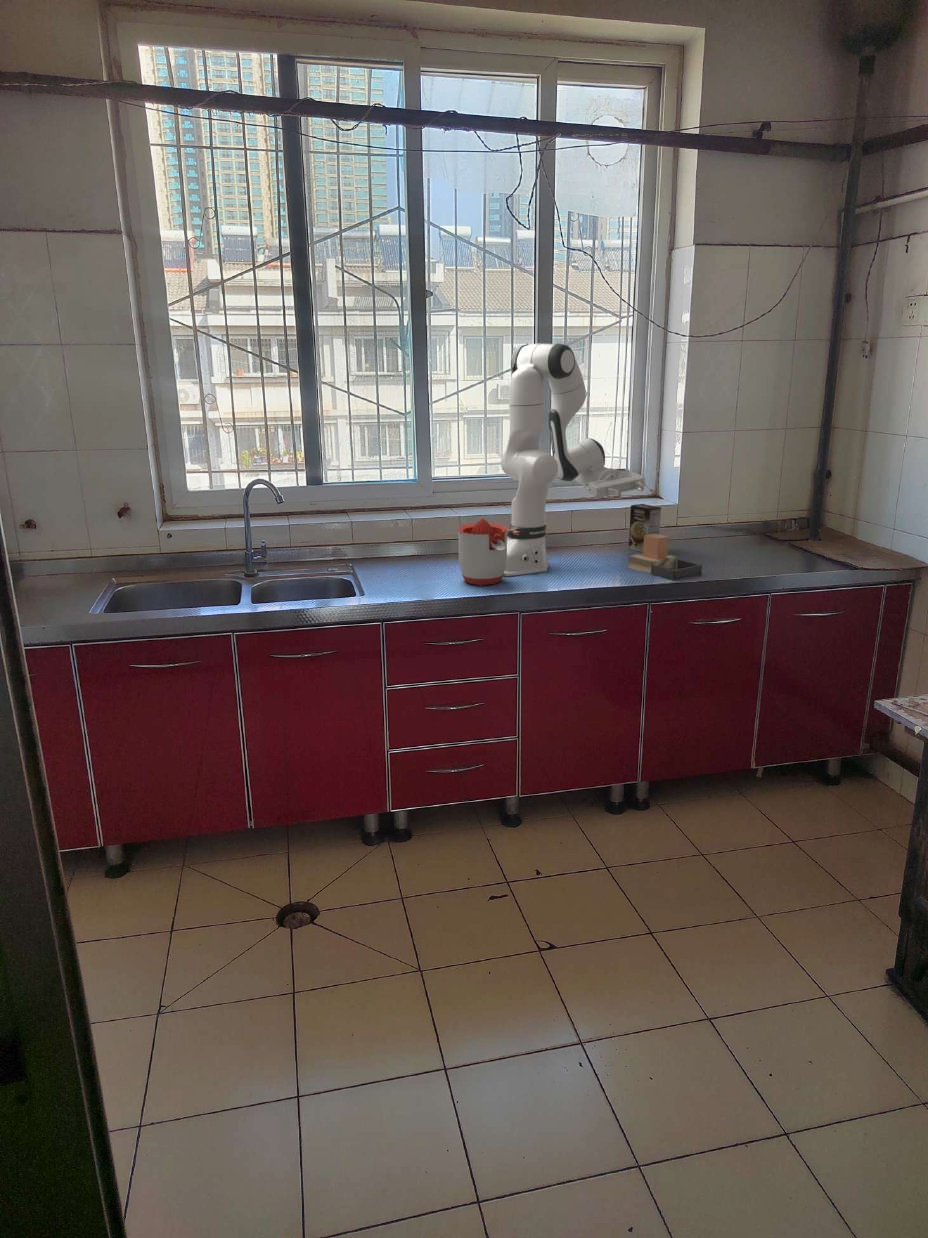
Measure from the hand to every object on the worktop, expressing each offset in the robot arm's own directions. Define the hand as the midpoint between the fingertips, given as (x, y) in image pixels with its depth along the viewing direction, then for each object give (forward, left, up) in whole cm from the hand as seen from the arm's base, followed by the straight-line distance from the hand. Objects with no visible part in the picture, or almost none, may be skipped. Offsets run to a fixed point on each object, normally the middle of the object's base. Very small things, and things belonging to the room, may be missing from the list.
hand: (631, 490), depth 269 cm
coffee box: (+17, +9, -24) cm, 31 cm away
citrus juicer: (-54, +9, -24) cm, 60 cm away
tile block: (0, -12, -20) cm, 24 cm away
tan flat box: (0, -11, -24) cm, 27 cm away
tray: (0, -21, -24) cm, 32 cm away
